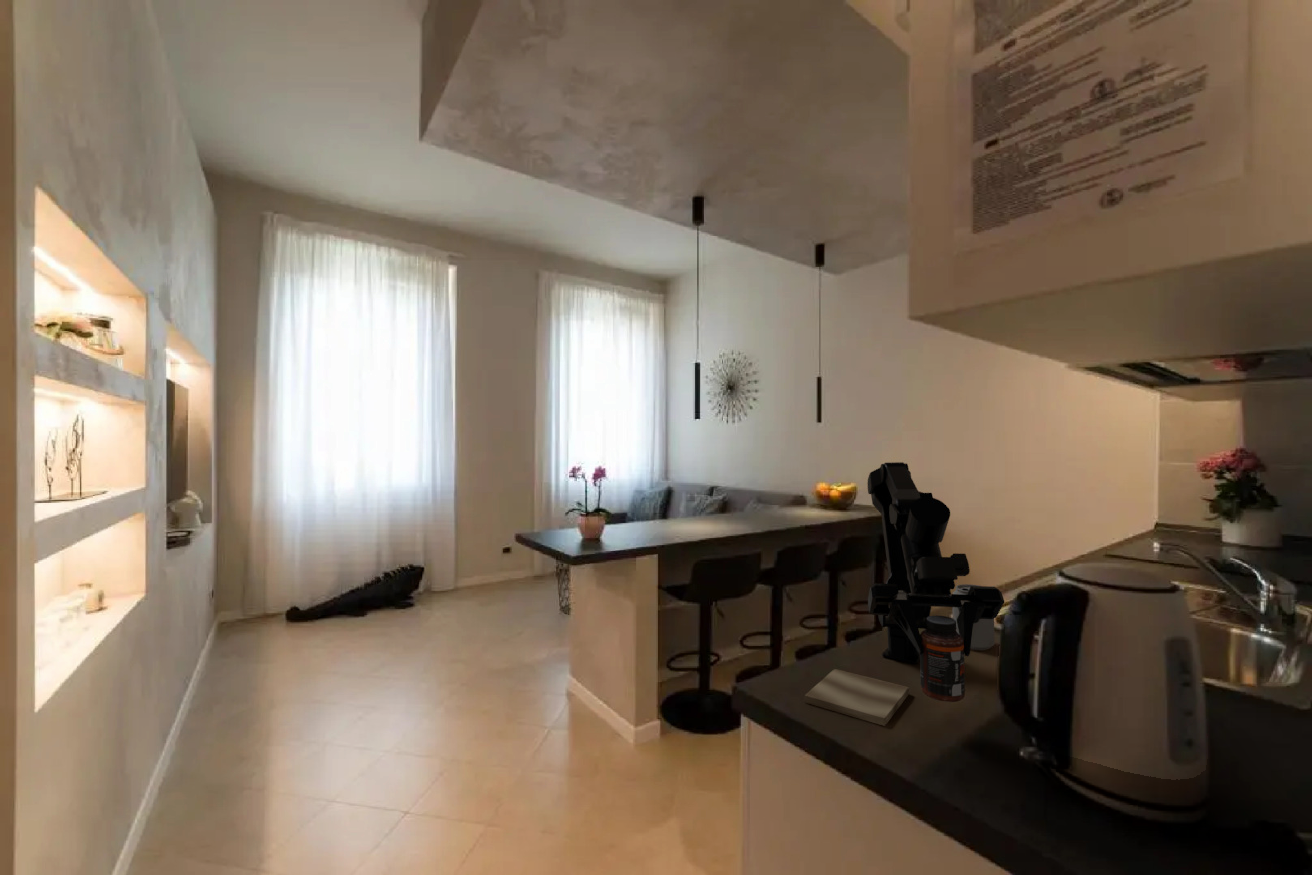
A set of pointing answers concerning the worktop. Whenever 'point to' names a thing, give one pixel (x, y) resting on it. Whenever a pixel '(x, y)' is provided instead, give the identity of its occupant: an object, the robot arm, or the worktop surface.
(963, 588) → the can
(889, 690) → the beige square board
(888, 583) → the robot arm
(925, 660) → the supplement bottle
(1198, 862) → the worktop surface
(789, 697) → the worktop surface
